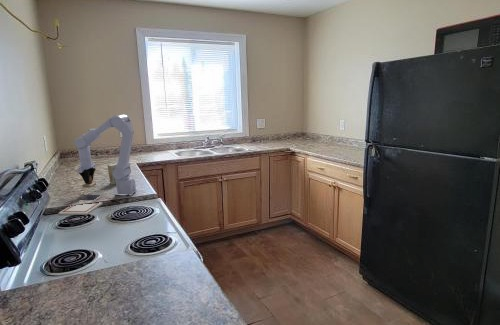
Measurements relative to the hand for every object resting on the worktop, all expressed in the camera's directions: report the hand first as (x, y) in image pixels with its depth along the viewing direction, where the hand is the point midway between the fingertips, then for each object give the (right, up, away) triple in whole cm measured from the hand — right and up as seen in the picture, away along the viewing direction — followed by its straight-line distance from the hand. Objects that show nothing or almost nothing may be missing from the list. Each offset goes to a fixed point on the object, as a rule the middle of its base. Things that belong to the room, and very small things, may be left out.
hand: (88, 182), depth 174 cm
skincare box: (+6, -2, +21) cm, 22 cm away
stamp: (0, -2, +1) cm, 2 cm away
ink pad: (+5, -9, -8) cm, 13 cm away
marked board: (+8, -12, -21) cm, 26 cm away
